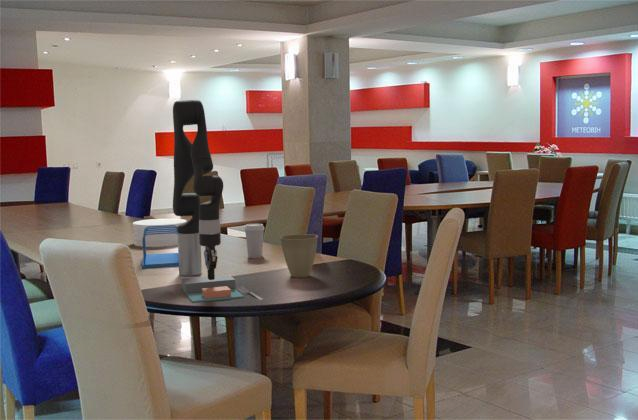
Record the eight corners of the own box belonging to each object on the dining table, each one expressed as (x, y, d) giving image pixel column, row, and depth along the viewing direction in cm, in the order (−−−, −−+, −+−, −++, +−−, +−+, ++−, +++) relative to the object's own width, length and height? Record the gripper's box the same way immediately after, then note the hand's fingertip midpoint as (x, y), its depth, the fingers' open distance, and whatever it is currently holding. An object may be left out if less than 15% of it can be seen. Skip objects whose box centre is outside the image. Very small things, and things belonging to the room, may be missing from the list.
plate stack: (170, 237, 390) (169, 217, 389) (197, 242, 370) (196, 221, 368) (124, 243, 371) (123, 222, 370) (150, 249, 351) (149, 226, 350)
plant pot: (315, 271, 287) (314, 233, 286) (321, 278, 273) (320, 238, 271) (279, 273, 285) (278, 234, 283) (283, 280, 270) (282, 240, 268)
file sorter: (143, 258, 324) (142, 226, 322) (181, 256, 327) (180, 224, 326) (142, 268, 299) (140, 233, 298) (183, 266, 303) (182, 231, 301)
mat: (186, 295, 248) (186, 293, 248) (235, 290, 254) (235, 289, 254) (192, 302, 237) (192, 301, 237) (243, 297, 243) (243, 296, 243)
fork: (264, 304, 234) (264, 299, 234) (235, 291, 255) (235, 286, 255) (273, 303, 236) (272, 298, 236) (243, 289, 257) (243, 285, 257)
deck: (181, 289, 258) (181, 278, 257) (229, 284, 264) (228, 274, 263) (186, 294, 248) (185, 283, 248) (235, 290, 254) (235, 279, 254)
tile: (205, 292, 239) (205, 298, 240) (230, 289, 243) (231, 296, 243) (201, 288, 245) (201, 295, 245) (226, 286, 248) (226, 292, 249)
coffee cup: (252, 259, 317) (252, 226, 315) (240, 256, 324) (239, 224, 322) (269, 256, 323) (268, 224, 322) (257, 254, 330) (256, 222, 329)
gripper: (195, 230, 253) (197, 276, 255) (202, 234, 241) (204, 284, 242) (216, 228, 255) (217, 275, 257) (224, 233, 243) (225, 282, 245)
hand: (211, 279), depth 250 cm, fingers closed
